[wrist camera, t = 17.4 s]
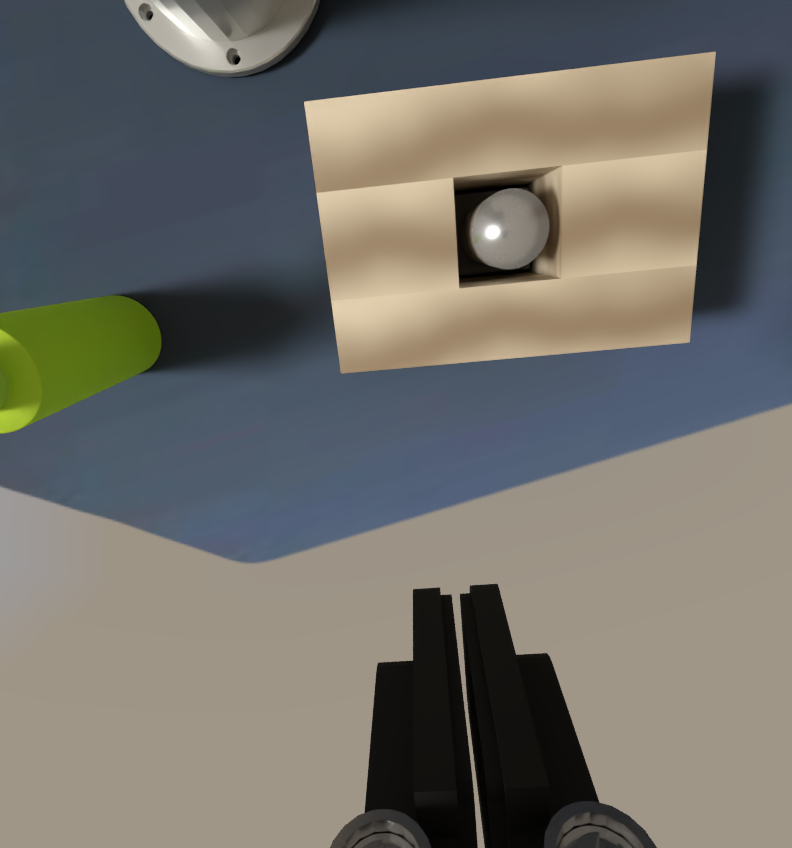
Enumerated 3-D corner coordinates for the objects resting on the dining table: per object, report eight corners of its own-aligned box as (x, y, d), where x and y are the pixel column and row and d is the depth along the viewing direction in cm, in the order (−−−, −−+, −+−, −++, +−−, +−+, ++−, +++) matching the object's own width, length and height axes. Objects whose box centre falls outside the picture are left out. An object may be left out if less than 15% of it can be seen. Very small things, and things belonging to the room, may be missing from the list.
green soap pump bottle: (165, 290, 37) (-97, 337, 18) (159, 381, 39) (-79, 508, 20) (83, 272, 36) (-271, 300, 18) (82, 365, 39) (-232, 478, 20)
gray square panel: (449, 196, 34) (450, 195, 33) (525, 188, 33) (528, 187, 32) (453, 275, 35) (454, 276, 34) (526, 268, 35) (529, 268, 34)
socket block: (328, 134, 33) (304, 101, 26) (643, 97, 32) (715, 51, 24) (355, 348, 38) (341, 373, 30) (631, 322, 36) (689, 342, 29)
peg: (459, 203, 33) (471, 192, 26) (521, 196, 33) (549, 183, 26) (462, 267, 34) (474, 272, 28) (522, 261, 34) (549, 265, 27)
